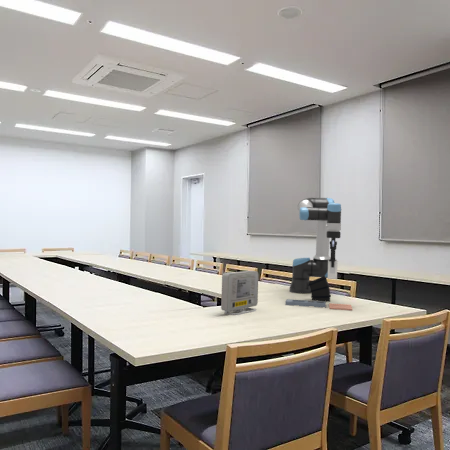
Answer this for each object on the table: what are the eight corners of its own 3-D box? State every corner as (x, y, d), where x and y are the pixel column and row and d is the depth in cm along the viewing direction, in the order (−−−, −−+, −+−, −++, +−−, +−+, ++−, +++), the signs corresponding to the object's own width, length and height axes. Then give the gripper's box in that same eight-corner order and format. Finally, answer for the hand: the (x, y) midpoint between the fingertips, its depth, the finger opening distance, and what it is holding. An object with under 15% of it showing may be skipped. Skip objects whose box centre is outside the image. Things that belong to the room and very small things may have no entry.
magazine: (334, 299, 254) (324, 276, 257) (314, 307, 259) (304, 283, 262) (335, 298, 258) (325, 275, 260) (315, 306, 263) (306, 283, 265)
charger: (327, 278, 241) (328, 260, 241) (336, 278, 240) (337, 260, 240) (327, 278, 237) (328, 260, 238) (336, 279, 236) (337, 261, 236)
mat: (329, 304, 246) (329, 303, 246) (351, 306, 243) (351, 304, 243) (329, 308, 232) (329, 307, 232) (352, 310, 230) (352, 309, 230)
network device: (248, 307, 230) (249, 270, 230) (261, 309, 224) (262, 271, 225) (217, 313, 210) (218, 273, 210) (231, 316, 205) (232, 274, 205)
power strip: (286, 302, 249) (286, 298, 249) (325, 305, 243) (325, 301, 243) (285, 304, 241) (285, 300, 241) (325, 307, 236) (325, 303, 236)
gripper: (327, 230, 248) (326, 271, 248) (326, 230, 232) (325, 274, 231) (340, 231, 246) (339, 272, 246) (340, 231, 230) (339, 274, 230)
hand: (332, 272), depth 239 cm, fingers closed on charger, 4 cm apart
